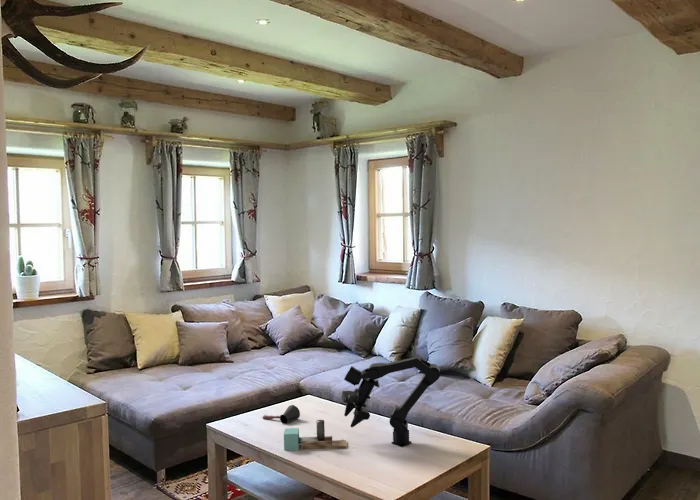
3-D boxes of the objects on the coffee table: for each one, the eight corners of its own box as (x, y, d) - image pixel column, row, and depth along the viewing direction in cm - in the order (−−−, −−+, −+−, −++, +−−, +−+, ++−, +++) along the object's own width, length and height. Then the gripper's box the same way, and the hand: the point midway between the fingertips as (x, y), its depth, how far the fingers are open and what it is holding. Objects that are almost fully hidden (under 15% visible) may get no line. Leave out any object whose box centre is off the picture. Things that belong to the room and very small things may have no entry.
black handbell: (302, 419, 284) (291, 427, 277) (274, 417, 294) (263, 425, 287) (298, 404, 283) (288, 412, 276) (271, 403, 293) (260, 411, 286)
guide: (346, 442, 253) (345, 435, 253) (346, 448, 246) (346, 441, 246) (302, 443, 253) (302, 436, 253) (301, 449, 246) (301, 442, 246)
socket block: (299, 443, 253) (298, 427, 253) (298, 449, 246) (297, 433, 246) (285, 444, 253) (285, 428, 252) (284, 450, 246) (283, 434, 245)
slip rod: (324, 441, 251) (324, 419, 251) (324, 444, 248) (324, 422, 247) (291, 442, 251) (290, 420, 251) (290, 445, 248) (289, 423, 247)
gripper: (342, 375, 257) (326, 405, 258) (355, 395, 239) (338, 427, 241) (363, 382, 261) (347, 412, 262) (377, 403, 244) (360, 434, 245)
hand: (348, 421), depth 253 cm, fingers open, 9 cm apart
